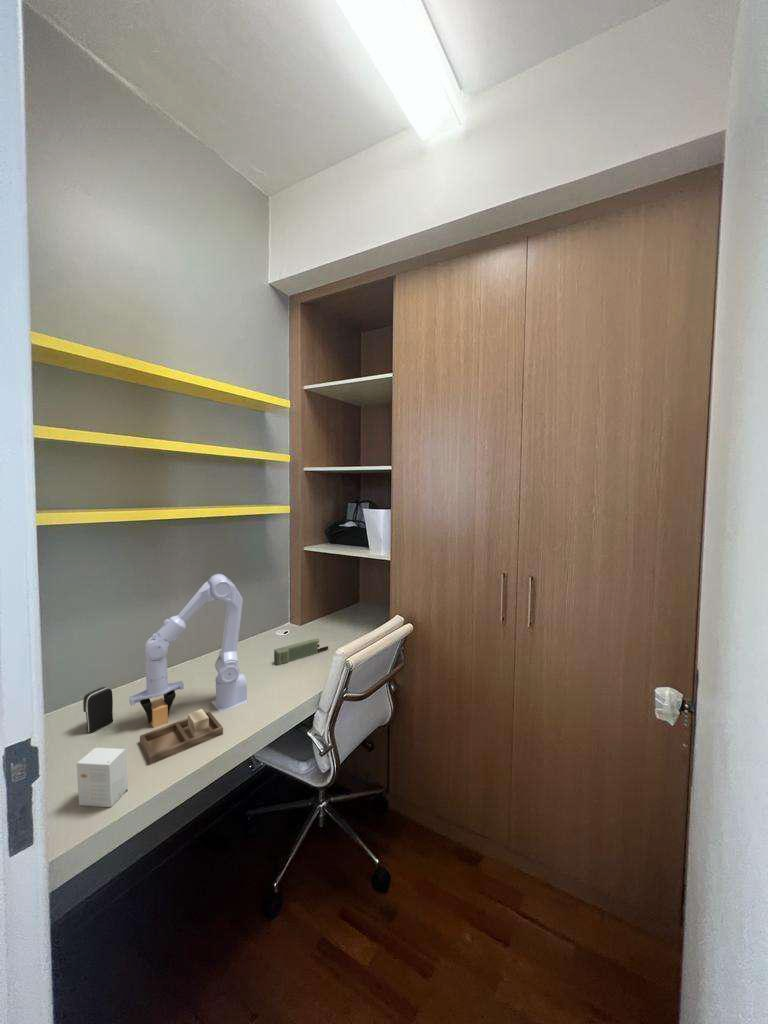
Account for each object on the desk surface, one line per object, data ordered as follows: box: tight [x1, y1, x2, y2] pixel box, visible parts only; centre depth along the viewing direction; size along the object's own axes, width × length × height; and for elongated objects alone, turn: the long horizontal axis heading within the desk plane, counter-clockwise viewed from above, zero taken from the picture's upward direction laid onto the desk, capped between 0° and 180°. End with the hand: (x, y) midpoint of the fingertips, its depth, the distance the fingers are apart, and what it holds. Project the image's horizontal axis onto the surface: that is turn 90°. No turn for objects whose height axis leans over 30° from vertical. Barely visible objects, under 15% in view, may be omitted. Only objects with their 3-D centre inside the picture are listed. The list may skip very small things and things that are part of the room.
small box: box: [76, 747, 129, 808], centre depth 93 cm, size 8×6×10 cm
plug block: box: [150, 697, 169, 728], centre depth 122 cm, size 4×6×6 cm, turn 43°
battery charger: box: [82, 686, 114, 734], centre depth 120 cm, size 7×4×11 cm, turn 155°
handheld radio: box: [273, 637, 329, 666], centre depth 169 cm, size 7×3×25 cm
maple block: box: [187, 708, 209, 738], centre depth 117 cm, size 4×6×5 cm, turn 43°
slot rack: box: [139, 710, 224, 766], centre depth 114 cm, size 19×12×3 cm, turn 133°
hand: (158, 718), depth 122 cm, fingers closed on plug block, 4 cm apart
